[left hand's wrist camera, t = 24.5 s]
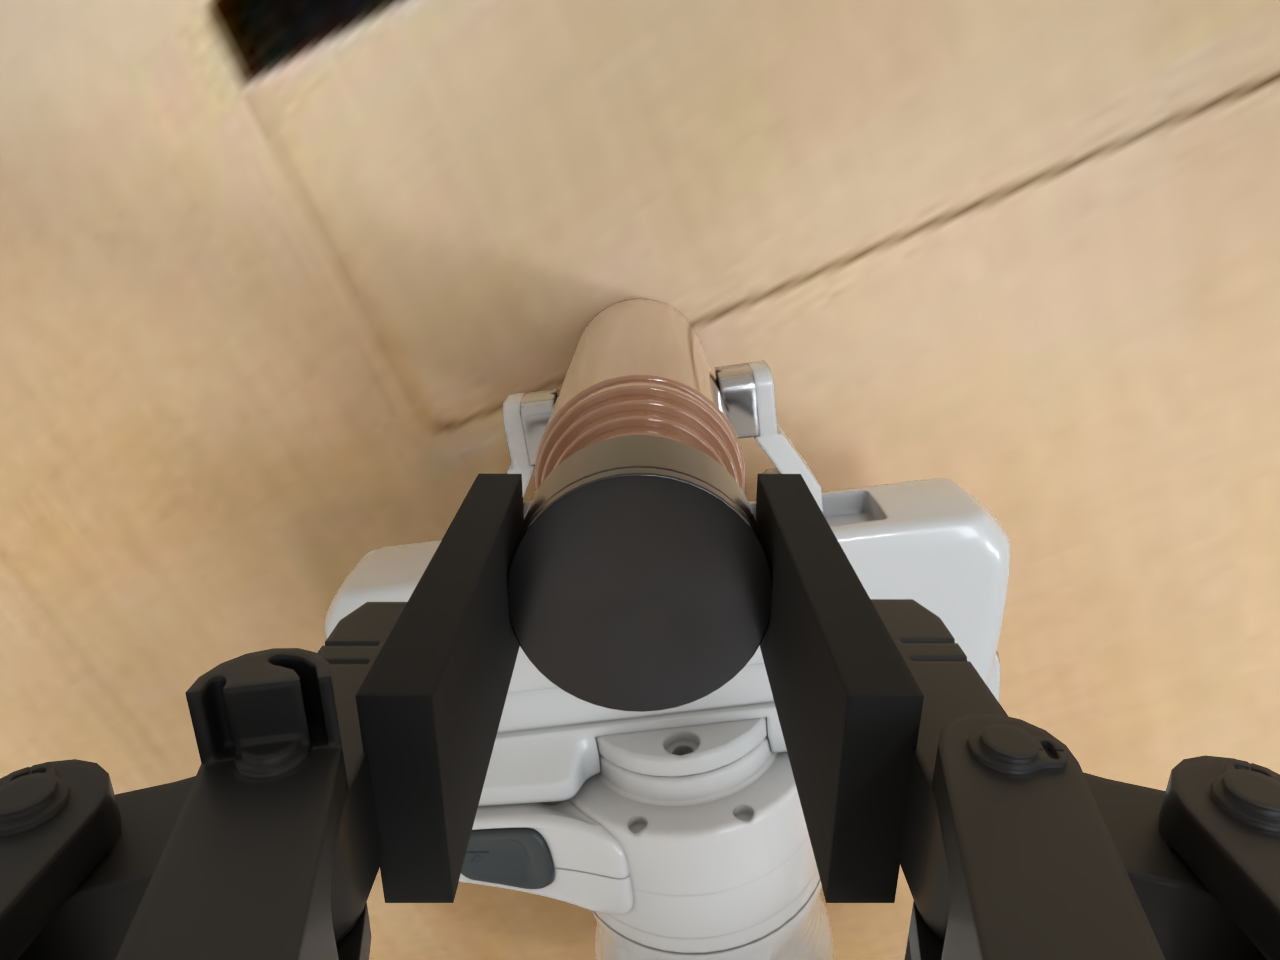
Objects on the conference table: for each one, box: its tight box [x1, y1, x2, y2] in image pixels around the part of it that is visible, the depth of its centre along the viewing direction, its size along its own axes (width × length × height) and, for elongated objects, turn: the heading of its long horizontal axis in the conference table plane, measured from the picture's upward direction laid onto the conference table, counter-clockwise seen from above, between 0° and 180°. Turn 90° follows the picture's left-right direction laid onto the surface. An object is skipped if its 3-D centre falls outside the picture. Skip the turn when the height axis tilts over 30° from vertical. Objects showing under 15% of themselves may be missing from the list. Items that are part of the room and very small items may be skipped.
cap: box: [507, 435, 773, 712], centre depth 13 cm, size 4×4×2 cm
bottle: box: [534, 299, 745, 492], centre depth 21 cm, size 5×5×17 cm
